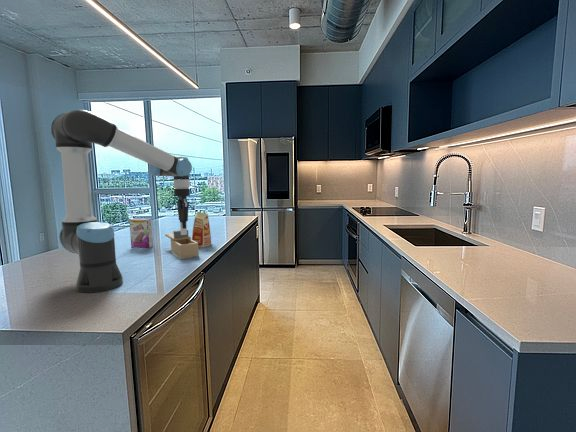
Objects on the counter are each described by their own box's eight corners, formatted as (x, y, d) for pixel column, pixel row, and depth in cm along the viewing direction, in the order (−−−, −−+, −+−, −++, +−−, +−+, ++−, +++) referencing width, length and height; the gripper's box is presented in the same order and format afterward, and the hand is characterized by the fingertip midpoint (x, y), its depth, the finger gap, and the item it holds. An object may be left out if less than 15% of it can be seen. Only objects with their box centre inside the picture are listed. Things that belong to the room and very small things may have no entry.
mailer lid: (173, 240, 167) (173, 231, 167) (165, 235, 182) (164, 227, 182) (190, 238, 172) (190, 230, 172) (181, 233, 187) (181, 225, 187)
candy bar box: (130, 248, 185) (128, 219, 183) (135, 246, 190) (133, 218, 188) (149, 248, 184) (147, 219, 182) (153, 246, 189) (152, 218, 186)
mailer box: (180, 259, 158) (179, 245, 158) (171, 252, 173) (170, 239, 172) (198, 256, 163) (198, 242, 162) (188, 249, 178) (187, 237, 177)
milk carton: (191, 246, 187) (189, 212, 184) (200, 243, 195) (198, 210, 193) (205, 247, 184) (203, 212, 182) (213, 244, 193) (212, 210, 190)
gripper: (193, 188, 159) (195, 235, 162) (185, 187, 170) (187, 232, 173) (177, 188, 155) (179, 237, 158) (170, 188, 166) (172, 233, 168)
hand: (183, 234), depth 165 cm, fingers closed
